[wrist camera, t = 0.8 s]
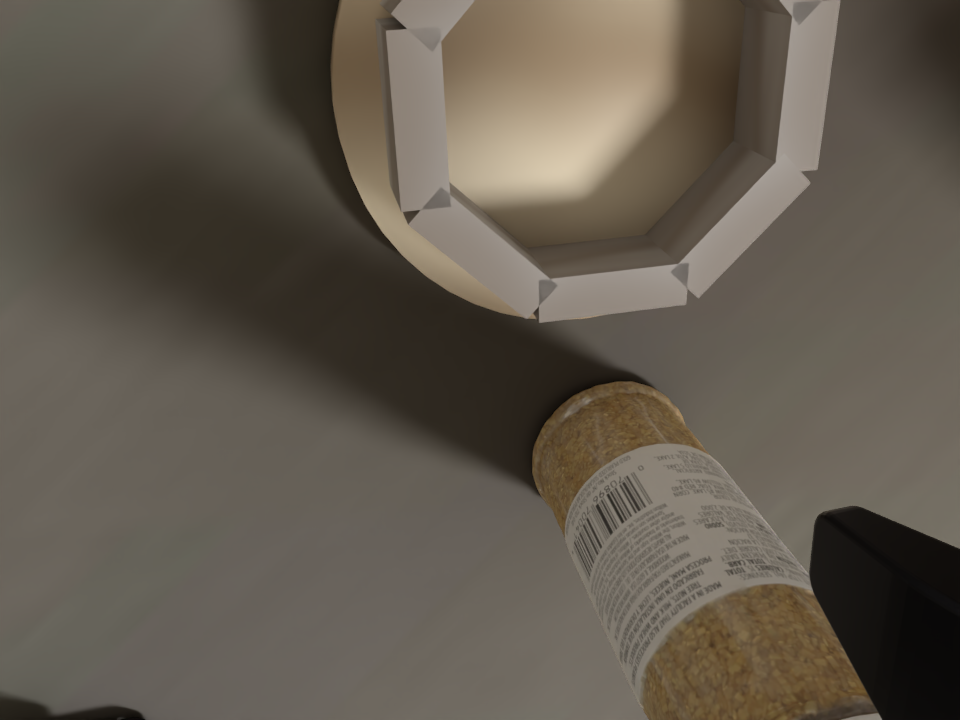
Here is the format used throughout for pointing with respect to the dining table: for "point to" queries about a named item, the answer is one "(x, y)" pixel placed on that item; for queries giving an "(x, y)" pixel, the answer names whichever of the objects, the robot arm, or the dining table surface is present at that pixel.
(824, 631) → the sprinkles bottle
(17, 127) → the dining table surface
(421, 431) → the dining table surface
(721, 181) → the collar socket
